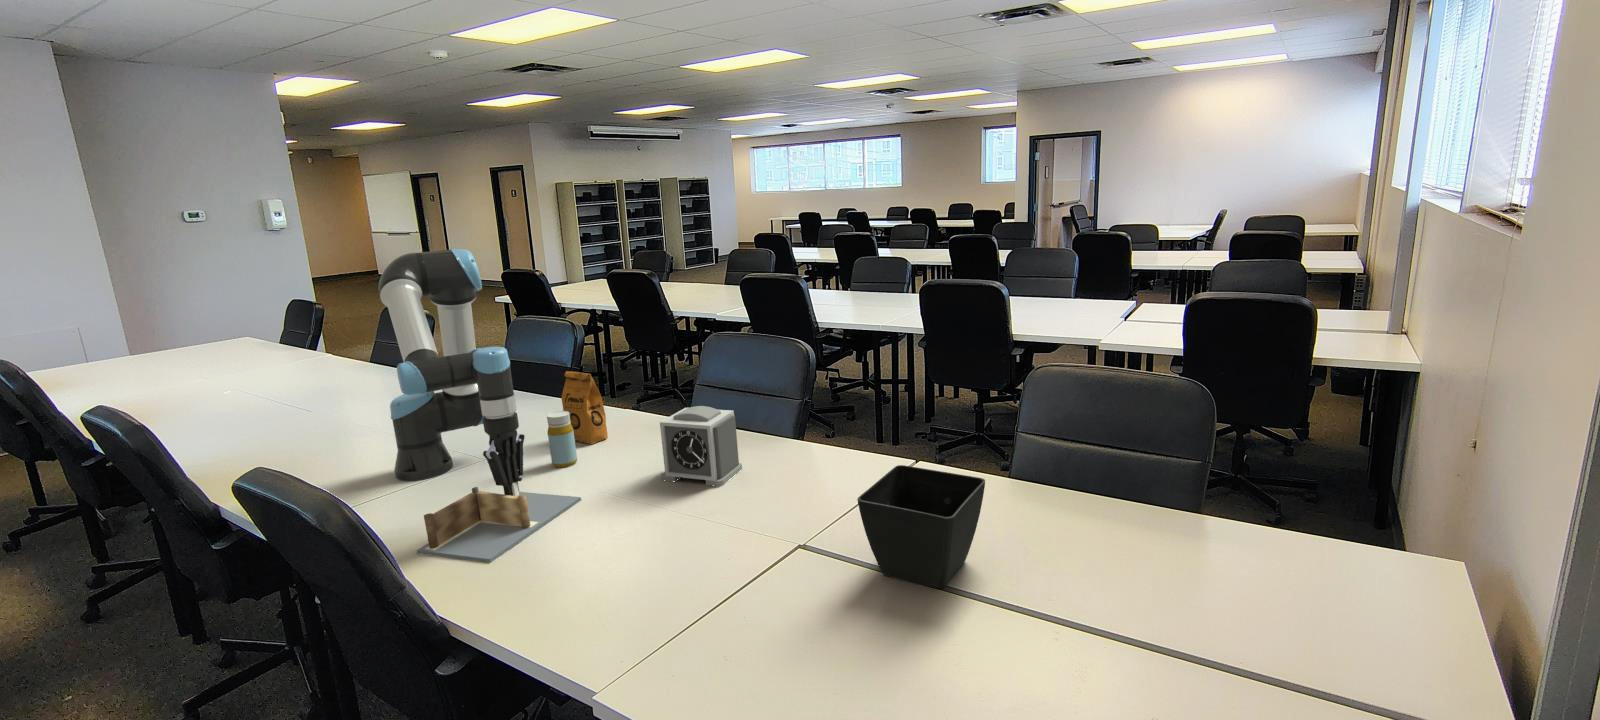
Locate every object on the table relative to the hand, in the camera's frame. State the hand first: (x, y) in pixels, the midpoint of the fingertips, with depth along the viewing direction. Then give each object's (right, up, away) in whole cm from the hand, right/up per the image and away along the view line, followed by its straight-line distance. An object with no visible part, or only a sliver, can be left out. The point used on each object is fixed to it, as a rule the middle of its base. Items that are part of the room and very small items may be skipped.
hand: (514, 508), depth 179 cm
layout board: (-2, -4, -1) cm, 4 cm away
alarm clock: (+42, +4, +24) cm, 48 cm away
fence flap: (-1, -3, -2) cm, 4 cm away
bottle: (0, +5, +39) cm, 39 cm away
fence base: (-11, -5, -5) cm, 13 cm away
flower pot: (+92, -5, -32) cm, 98 cm away
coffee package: (+1, +10, +59) cm, 60 cm away
